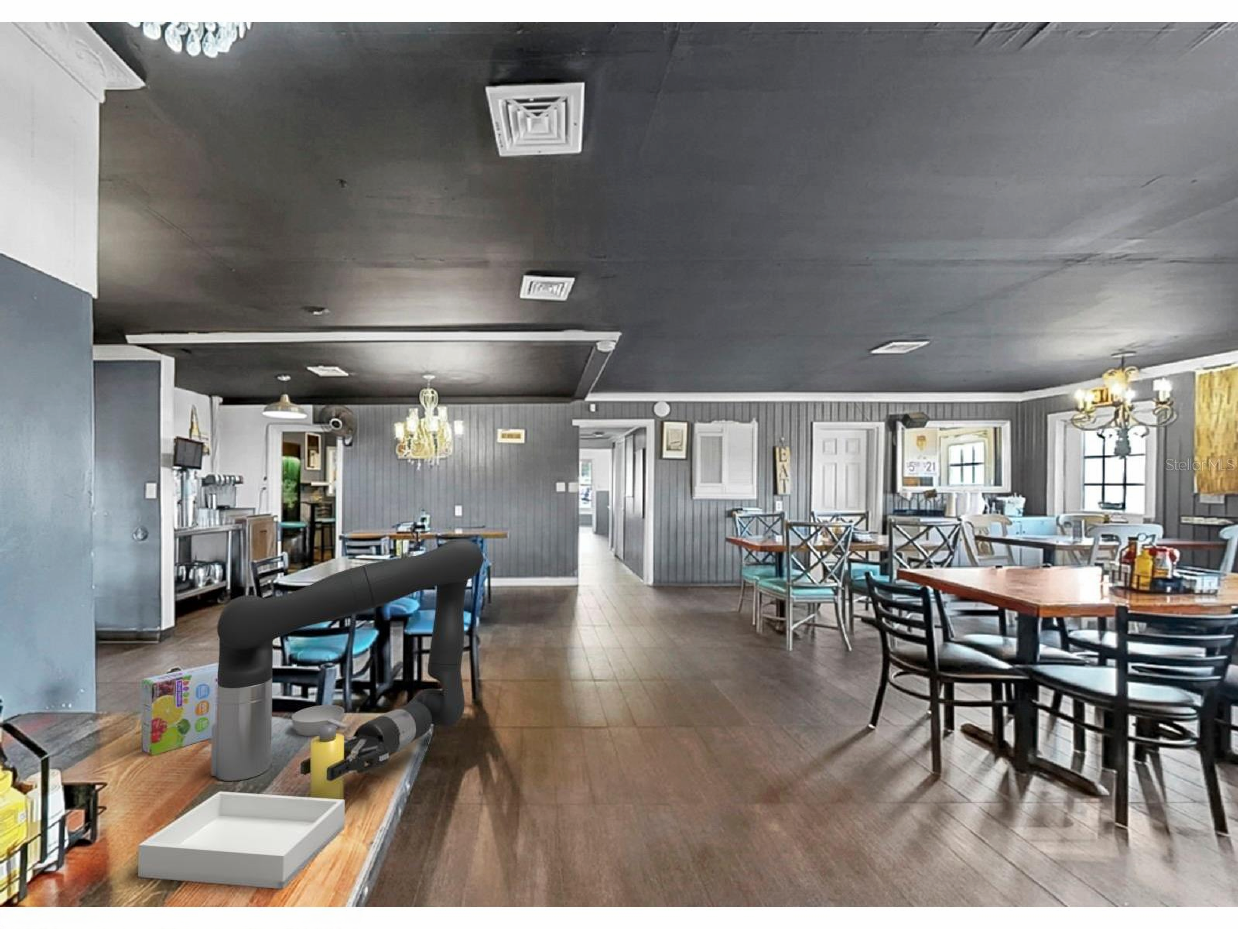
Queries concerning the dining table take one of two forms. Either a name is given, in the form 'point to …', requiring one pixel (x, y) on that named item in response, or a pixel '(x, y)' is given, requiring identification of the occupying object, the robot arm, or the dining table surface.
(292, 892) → the dining table surface
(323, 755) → the squeeze bottle
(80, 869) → the dining table surface
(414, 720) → the robot arm
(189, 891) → the dining table surface
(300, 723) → the small pan
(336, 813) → the tray
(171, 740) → the snack box
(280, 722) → the dining table surface
